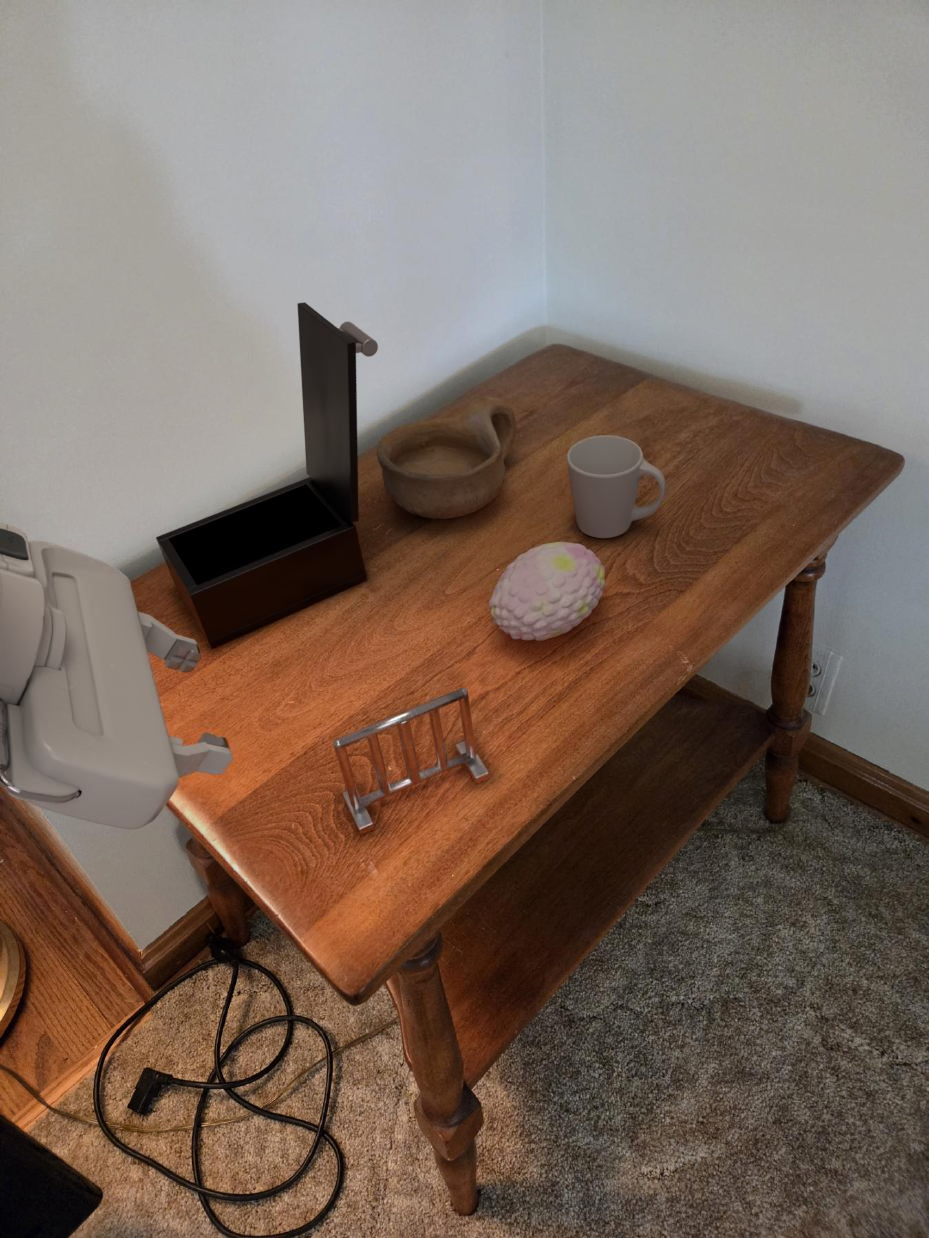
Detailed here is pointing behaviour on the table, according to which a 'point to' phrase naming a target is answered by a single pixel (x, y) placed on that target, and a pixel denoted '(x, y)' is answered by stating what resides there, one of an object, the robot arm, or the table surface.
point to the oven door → (331, 404)
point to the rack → (408, 754)
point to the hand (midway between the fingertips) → (209, 704)
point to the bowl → (449, 460)
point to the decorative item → (547, 591)
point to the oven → (263, 560)
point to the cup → (609, 484)
